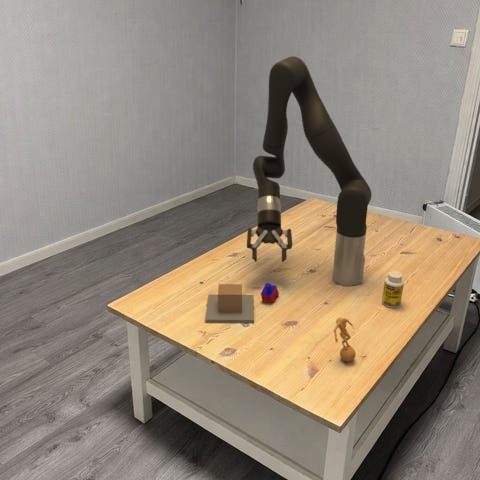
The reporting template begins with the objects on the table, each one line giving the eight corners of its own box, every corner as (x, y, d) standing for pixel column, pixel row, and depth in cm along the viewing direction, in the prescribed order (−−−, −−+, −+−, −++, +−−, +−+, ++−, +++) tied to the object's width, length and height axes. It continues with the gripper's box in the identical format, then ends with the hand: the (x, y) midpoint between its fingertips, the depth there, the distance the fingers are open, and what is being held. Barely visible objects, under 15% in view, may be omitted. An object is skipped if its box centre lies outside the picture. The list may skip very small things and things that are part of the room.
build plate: (253, 297, 165) (253, 277, 162) (254, 322, 152) (254, 302, 149) (208, 297, 165) (207, 277, 162) (205, 322, 152) (204, 301, 149)
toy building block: (263, 303, 165) (258, 288, 159) (268, 292, 167) (264, 277, 161) (274, 306, 163) (269, 291, 157) (278, 295, 166) (275, 280, 160)
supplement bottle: (381, 306, 160) (385, 277, 156) (382, 297, 165) (386, 268, 161) (400, 309, 159) (404, 280, 154) (400, 300, 163) (405, 271, 159)
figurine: (345, 371, 133) (349, 331, 128) (324, 361, 137) (328, 321, 131) (362, 355, 138) (366, 317, 133) (342, 346, 142) (346, 308, 137)
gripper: (247, 208, 167) (246, 257, 161) (292, 208, 166) (293, 257, 161) (246, 217, 174) (246, 264, 168) (290, 217, 173) (291, 265, 168)
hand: (269, 261), depth 164 cm, fingers open, 8 cm apart
